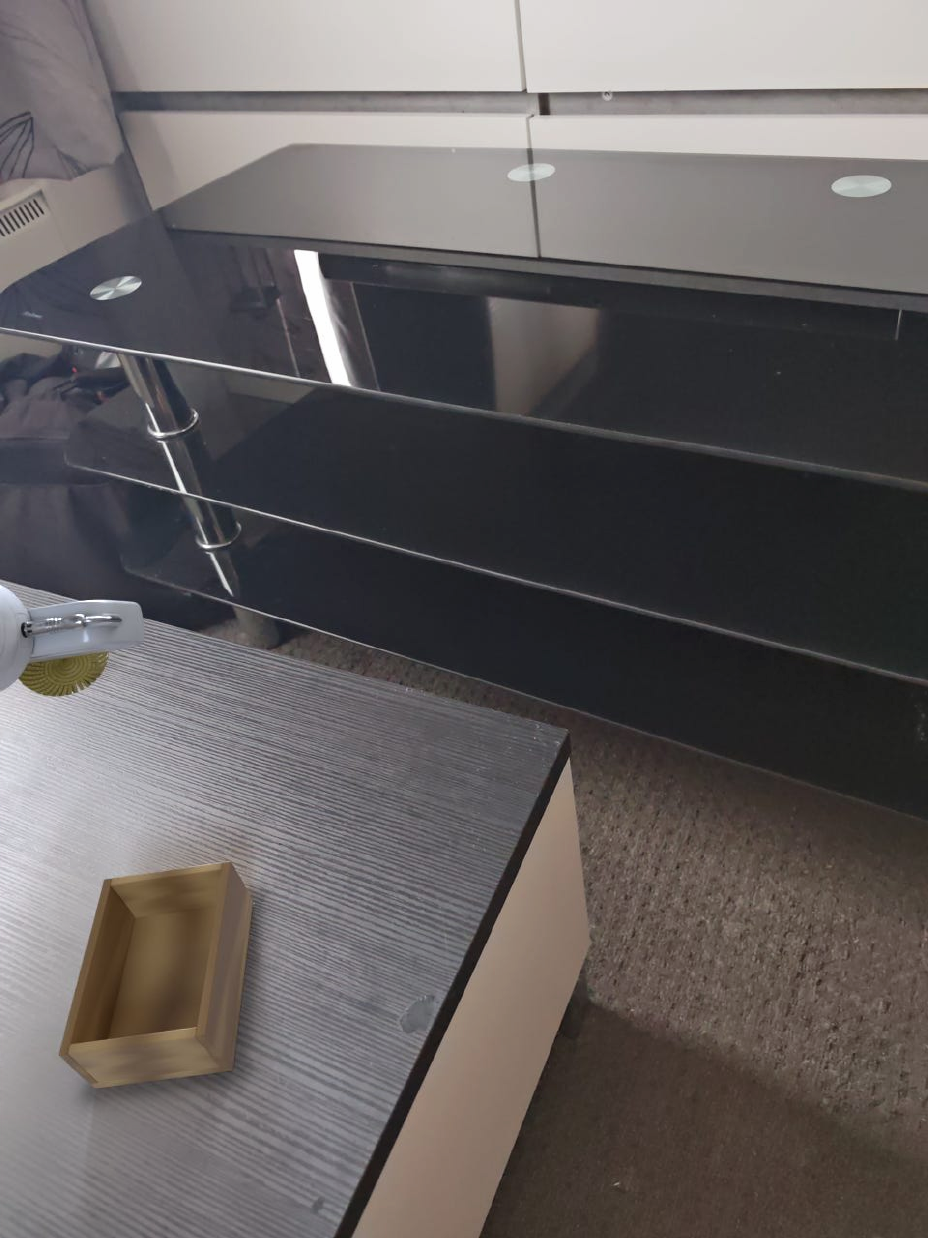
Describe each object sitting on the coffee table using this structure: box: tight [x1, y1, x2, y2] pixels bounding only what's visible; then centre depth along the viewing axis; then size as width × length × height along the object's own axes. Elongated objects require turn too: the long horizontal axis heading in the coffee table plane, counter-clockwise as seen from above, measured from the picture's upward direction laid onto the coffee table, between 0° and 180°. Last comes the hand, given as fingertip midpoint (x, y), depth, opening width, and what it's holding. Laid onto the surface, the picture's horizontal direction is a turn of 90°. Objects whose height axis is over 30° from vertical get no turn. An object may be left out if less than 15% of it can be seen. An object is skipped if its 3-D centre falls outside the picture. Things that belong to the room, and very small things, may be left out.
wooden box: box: [58, 860, 254, 1090], centre depth 62 cm, size 9×12×5 cm
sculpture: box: [17, 651, 110, 698], centre depth 81 cm, size 8×4×8 cm, turn 125°
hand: (58, 642), depth 81 cm, fingers closed on sculpture, 7 cm apart
